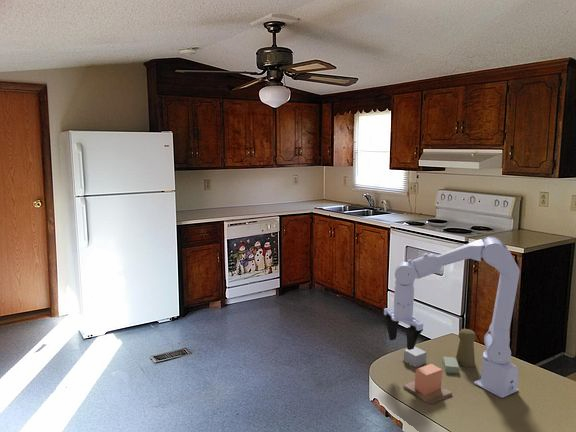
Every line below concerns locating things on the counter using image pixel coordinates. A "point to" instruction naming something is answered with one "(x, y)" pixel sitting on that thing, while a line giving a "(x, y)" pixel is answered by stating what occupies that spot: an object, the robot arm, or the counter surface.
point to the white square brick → (415, 356)
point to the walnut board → (429, 397)
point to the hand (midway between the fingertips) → (401, 344)
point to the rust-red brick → (428, 379)
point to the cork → (466, 348)
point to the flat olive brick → (450, 365)
